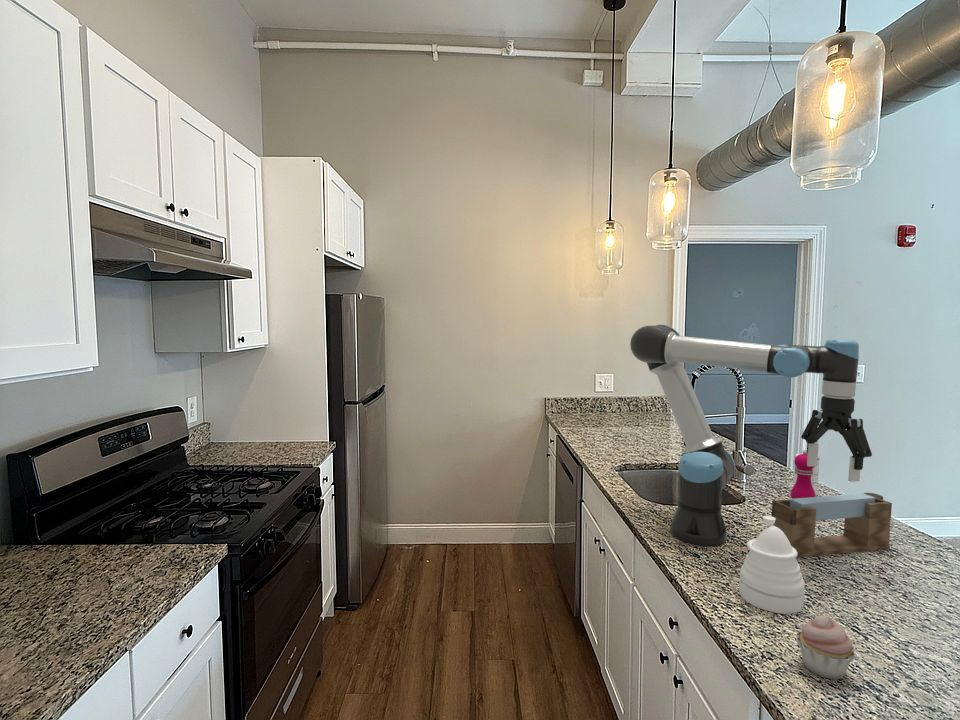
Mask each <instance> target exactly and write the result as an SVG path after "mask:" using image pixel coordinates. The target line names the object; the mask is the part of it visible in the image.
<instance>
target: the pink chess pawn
mask: <svg viewBox="0 0 960 720" xmlns="http://www.w3.org/2000/svg"><path fill="white" fill-rule="evenodd" d="M800 454H803V453H802V452H801V453H796V454H795V455H794V459H795V458H796V456H798V455H800ZM793 467H794V470H793V471H794V472H793V484H792V485H793V486H794V485H795V483H796V481H797V473H796V468H797V466H796V465H795V464H794V466H793ZM812 470H813V475H812V476H811V484H812V487H813V489H814V491H815V494H816V497H818V486H819V471H820V456H819V455H818V461H817V466H815V467H814V468H813V469H812Z"/></svg>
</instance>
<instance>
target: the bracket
mask: <svg viewBox="0 0 960 720" xmlns="http://www.w3.org/2000/svg"><path fill="white" fill-rule="evenodd" d="M866 495H868V494H866ZM869 496H871V495H869ZM872 497H874V496H872ZM874 498H875V503H867V510H866V516H862V517H852V518H844V525H843V526H844V527H843V534H840V535H831V536H818V537H816V522H817V521H816V508H813V507H812V508H799V509H793V508H791V507H790V499H791V498H789V499H778V500H777V499H776V500H772V503H771V516H772V517H774V518H775V519H776V520H775V523H774V524H773V525H774V526H775V527H778V528H779V529H781V530H782V531H783V533H784V534H785V535H786V537H787V539H788V540H789V542H790V544H791V546H792V547H793V548H794V549H796V551H797V553H798V554H797V557H796V559H800V558H799V557H804V558H811V557H810V556H814V557H820V556H819V555H825V556H831V555H830V554H835V555H842V554H841V553H846V554H853V553H852V552H856V553H863V552H865V553H866V552H877V551H886V550H887V549H888V550H890V549H891V548H890V547H891V546H890V535H891V518H892V508H893V507H892V505H893V503H892V502H890V501H887V500H884V499H883V500H882V499H879V498H877V497H874ZM888 550H887V551H888Z"/></svg>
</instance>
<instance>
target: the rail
mask: <svg viewBox="0 0 960 720" xmlns="http://www.w3.org/2000/svg"><path fill="white" fill-rule="evenodd" d="M863 493H864V492H858V493H847V494H836V495H835V494H833V495H824V496H822V495H820V496H816V497H809V498H797V499H792V498H789V499H790V507H791V508H793V509H799V508H812V507H813V508H816V521H815V522H819V521H829V520H838V519H839V520H841V519H845V518H852V517H862V516H866V510H867V503H875V498H874V497H872V496H869V495H866V494H863Z"/></svg>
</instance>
